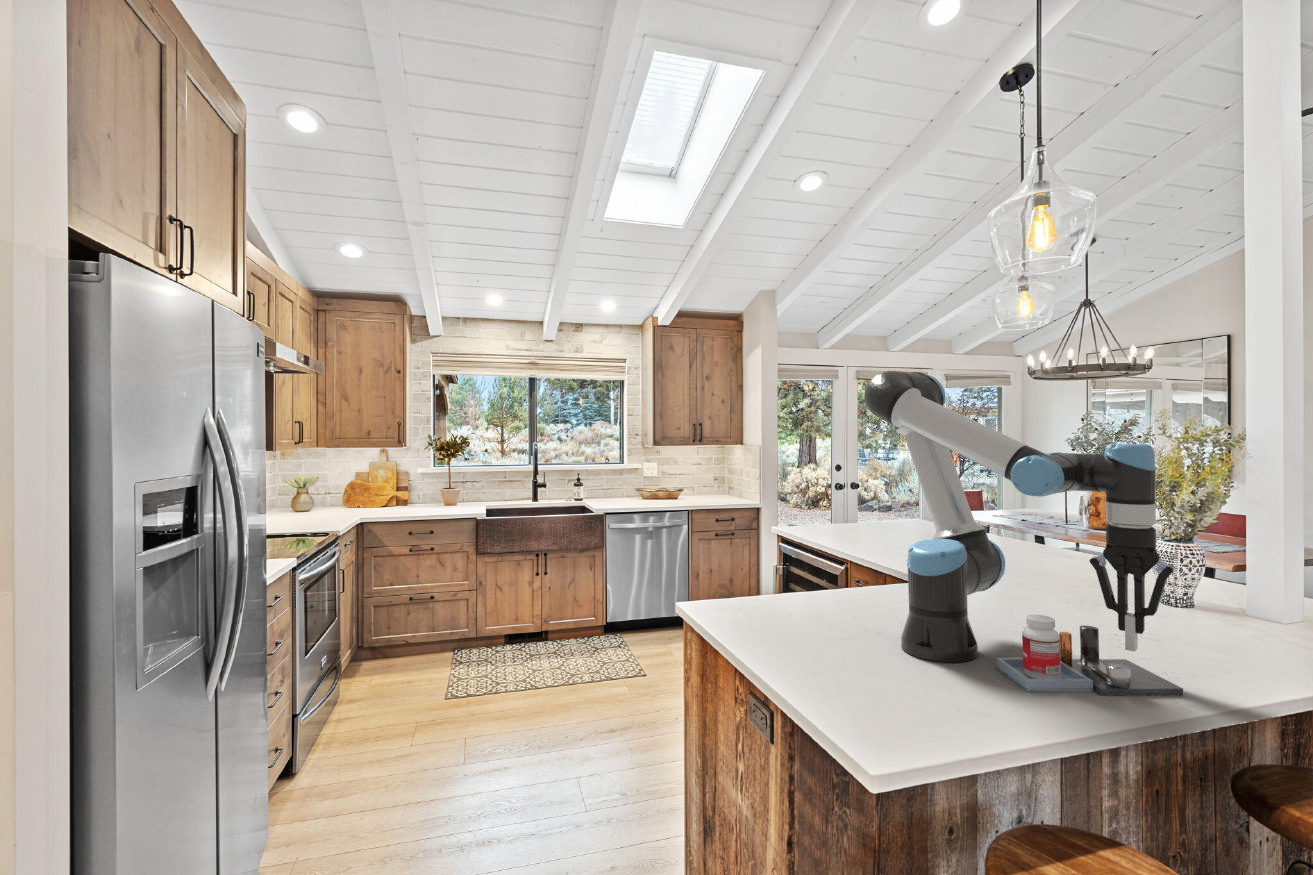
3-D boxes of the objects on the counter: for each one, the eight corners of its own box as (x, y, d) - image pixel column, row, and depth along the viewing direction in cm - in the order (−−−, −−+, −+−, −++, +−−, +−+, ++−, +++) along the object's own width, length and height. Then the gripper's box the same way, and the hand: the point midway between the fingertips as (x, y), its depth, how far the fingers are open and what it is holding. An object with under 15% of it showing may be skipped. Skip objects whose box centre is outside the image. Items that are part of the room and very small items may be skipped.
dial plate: (1100, 695, 110) (1099, 654, 110) (1053, 665, 124) (1052, 629, 124) (1183, 695, 109) (1182, 654, 109) (1125, 665, 123) (1124, 629, 123)
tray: (1027, 691, 112) (1027, 680, 112) (996, 667, 124) (995, 657, 124) (1093, 691, 111) (1092, 680, 111) (1055, 667, 123) (1055, 657, 123)
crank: (1135, 688, 109) (1134, 648, 109) (1112, 687, 110) (1111, 647, 110) (1096, 661, 122) (1095, 625, 122) (1076, 660, 123) (1075, 625, 123)
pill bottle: (1027, 667, 122) (1026, 611, 122) (1064, 675, 118) (1062, 617, 118) (1019, 676, 117) (1018, 618, 117) (1057, 685, 113) (1055, 624, 113)
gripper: (1177, 526, 115) (1178, 652, 115) (1093, 519, 124) (1094, 636, 125) (1172, 531, 110) (1172, 663, 110) (1084, 523, 119) (1085, 645, 119)
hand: (1131, 648), depth 117 cm, fingers closed
